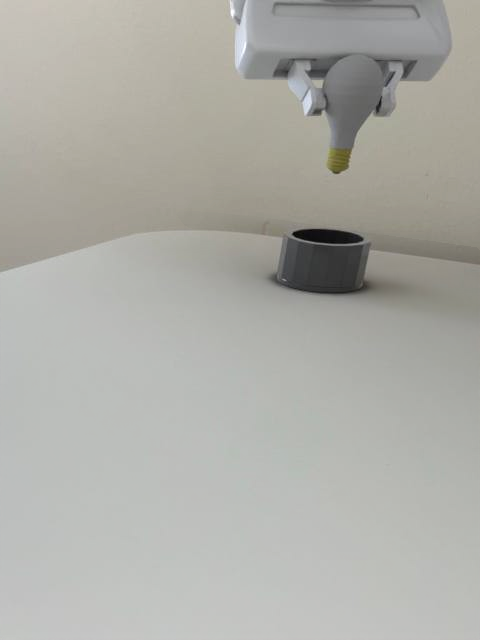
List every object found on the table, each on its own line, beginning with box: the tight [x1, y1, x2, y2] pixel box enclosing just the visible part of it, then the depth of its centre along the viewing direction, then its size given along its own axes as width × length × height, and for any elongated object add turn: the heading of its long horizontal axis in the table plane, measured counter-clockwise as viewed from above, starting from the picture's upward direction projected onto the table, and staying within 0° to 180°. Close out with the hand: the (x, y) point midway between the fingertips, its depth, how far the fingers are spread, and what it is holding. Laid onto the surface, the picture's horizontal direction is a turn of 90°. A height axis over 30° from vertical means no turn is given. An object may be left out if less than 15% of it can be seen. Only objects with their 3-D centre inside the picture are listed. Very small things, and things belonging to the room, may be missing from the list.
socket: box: [276, 226, 373, 294], centre depth 102 cm, size 9×9×4 cm
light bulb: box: [321, 54, 384, 175], centre depth 94 cm, size 6×6×10 cm
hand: (351, 112), depth 93 cm, fingers closed on light bulb, 5 cm apart
